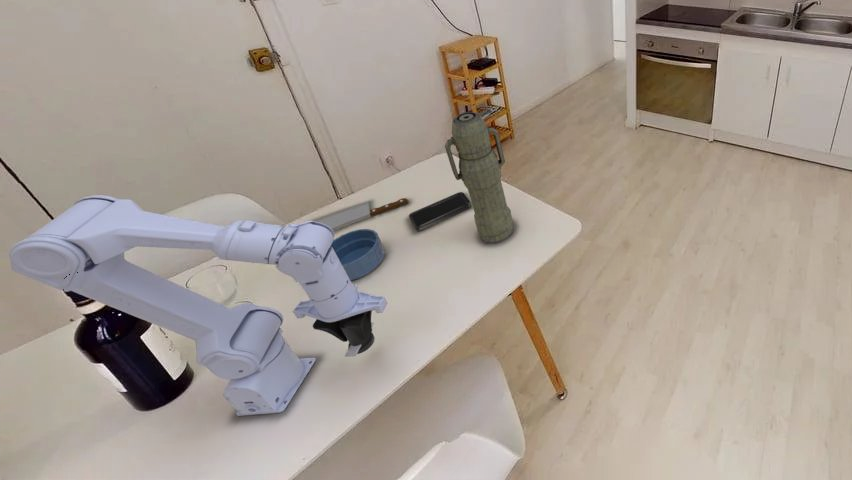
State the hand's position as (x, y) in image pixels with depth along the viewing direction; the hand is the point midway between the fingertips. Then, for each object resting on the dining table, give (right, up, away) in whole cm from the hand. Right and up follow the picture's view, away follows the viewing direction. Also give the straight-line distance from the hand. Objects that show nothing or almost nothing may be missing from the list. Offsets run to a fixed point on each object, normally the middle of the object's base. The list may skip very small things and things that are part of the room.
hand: (358, 335), depth 75 cm
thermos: (+14, +10, +33) cm, 37 cm away
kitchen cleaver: (-27, +13, +40) cm, 50 cm away
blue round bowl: (-17, +5, +25) cm, 31 cm away
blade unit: (0, -2, +1) cm, 2 cm away
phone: (-4, +14, +40) cm, 43 cm away
